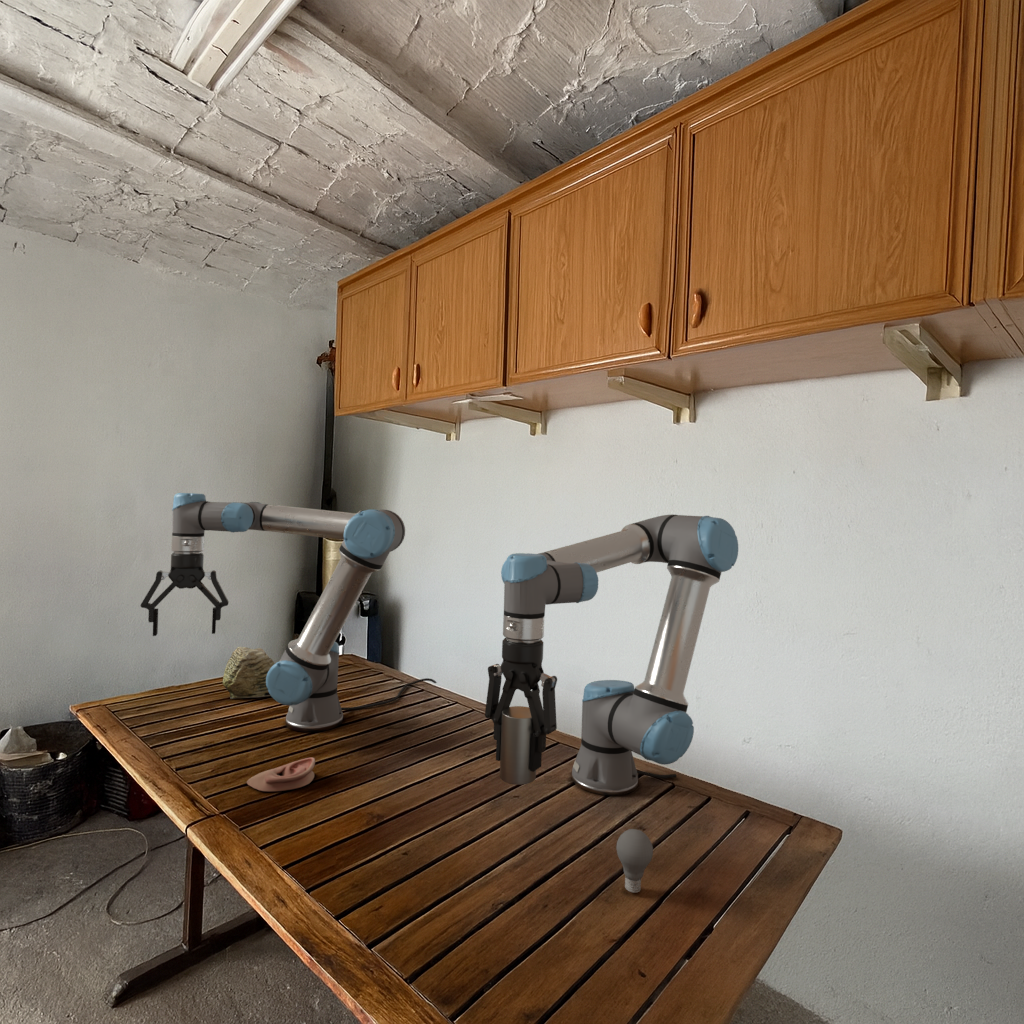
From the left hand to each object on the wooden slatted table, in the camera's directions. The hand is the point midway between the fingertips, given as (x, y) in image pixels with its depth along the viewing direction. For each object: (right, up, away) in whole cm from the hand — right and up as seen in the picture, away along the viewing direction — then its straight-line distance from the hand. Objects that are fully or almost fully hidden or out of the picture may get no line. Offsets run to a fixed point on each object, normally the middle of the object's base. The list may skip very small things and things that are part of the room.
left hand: (184, 633), depth 165 cm
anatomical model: (+34, -28, -25) cm, 51 cm away
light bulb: (+105, -32, -59) cm, 125 cm away
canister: (+86, -17, -49) cm, 100 cm away
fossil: (+5, -26, +33) cm, 42 cm away
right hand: (+86, -14, -49) cm, 100 cm away
